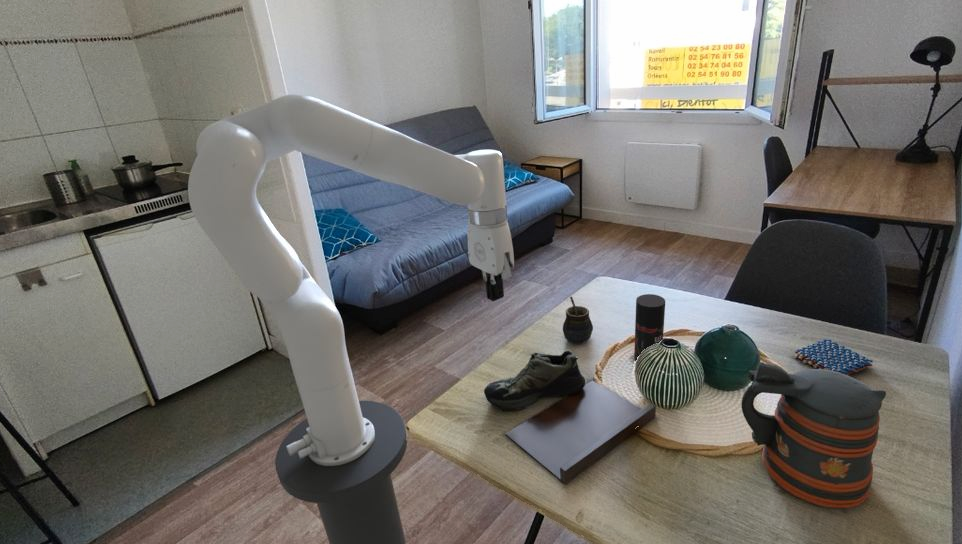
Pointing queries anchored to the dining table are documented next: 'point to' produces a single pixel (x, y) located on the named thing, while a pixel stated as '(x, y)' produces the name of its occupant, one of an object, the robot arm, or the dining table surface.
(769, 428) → the beer stein
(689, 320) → the dining table surface
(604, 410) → the shoe shelf
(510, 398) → the hiking shoe
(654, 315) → the deodorant
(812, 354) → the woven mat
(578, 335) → the mate gourd
